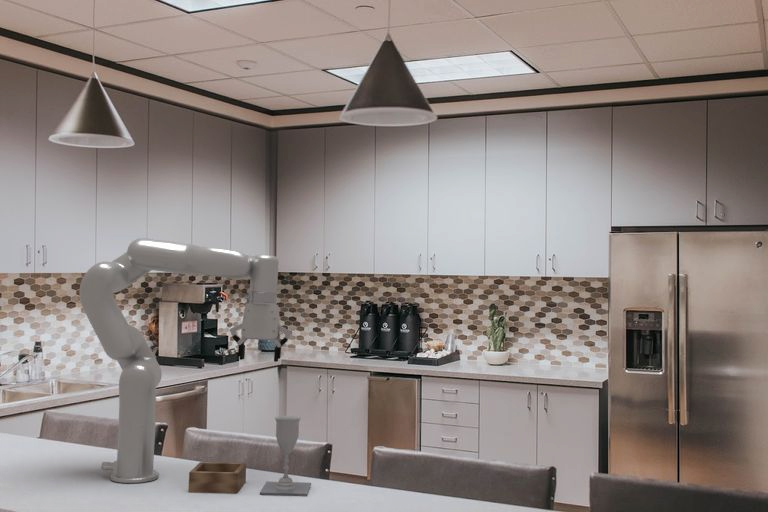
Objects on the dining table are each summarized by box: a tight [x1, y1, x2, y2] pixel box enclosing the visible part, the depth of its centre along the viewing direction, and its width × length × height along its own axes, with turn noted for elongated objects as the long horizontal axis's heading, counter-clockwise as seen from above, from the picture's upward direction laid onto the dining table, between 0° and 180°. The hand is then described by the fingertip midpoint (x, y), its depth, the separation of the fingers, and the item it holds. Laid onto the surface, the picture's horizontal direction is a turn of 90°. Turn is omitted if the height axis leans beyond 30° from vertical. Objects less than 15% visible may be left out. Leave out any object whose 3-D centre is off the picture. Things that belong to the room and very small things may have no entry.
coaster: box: [259, 481, 312, 497], centre depth 201 cm, size 12×12×1 cm
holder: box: [188, 461, 247, 495], centre depth 202 cm, size 12×12×5 cm
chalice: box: [274, 415, 302, 490], centre depth 202 cm, size 7×7×18 cm
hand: (259, 360), depth 215 cm, fingers open, 9 cm apart
